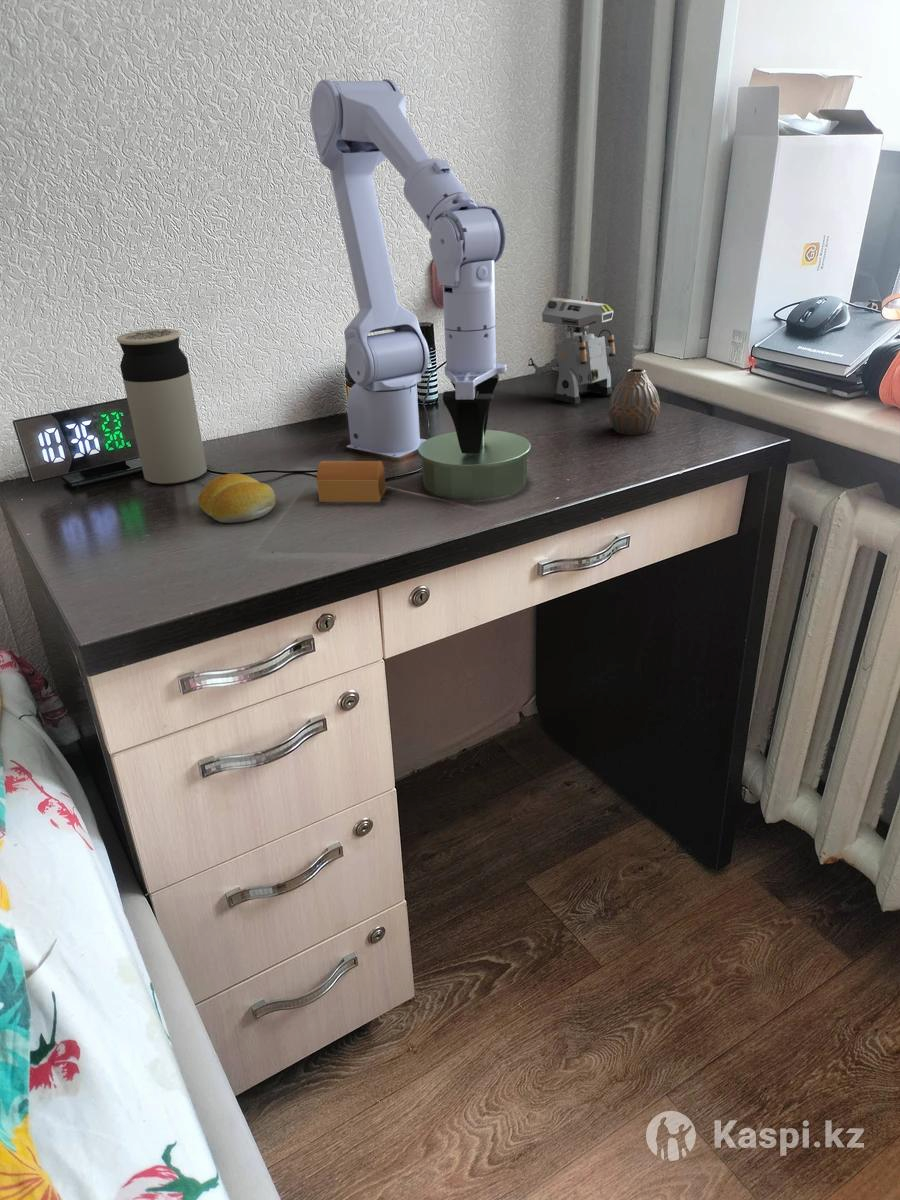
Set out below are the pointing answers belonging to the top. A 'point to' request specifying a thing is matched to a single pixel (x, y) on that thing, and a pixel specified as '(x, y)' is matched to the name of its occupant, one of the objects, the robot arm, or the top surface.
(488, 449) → the lid
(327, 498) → the loaf
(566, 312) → the figurine
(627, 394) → the vase
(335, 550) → the top surface
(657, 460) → the top surface
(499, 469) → the pot
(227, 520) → the bread roll
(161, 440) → the travel mug
